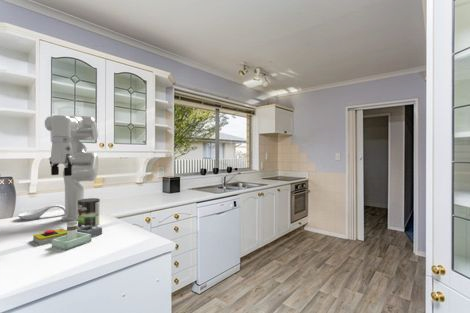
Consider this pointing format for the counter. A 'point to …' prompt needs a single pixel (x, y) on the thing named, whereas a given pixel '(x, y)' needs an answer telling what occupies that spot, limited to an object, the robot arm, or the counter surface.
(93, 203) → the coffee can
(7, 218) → the counter surface
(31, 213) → the spoon rest
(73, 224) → the fuse
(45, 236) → the emergency button
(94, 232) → the block
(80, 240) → the tray
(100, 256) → the counter surface
